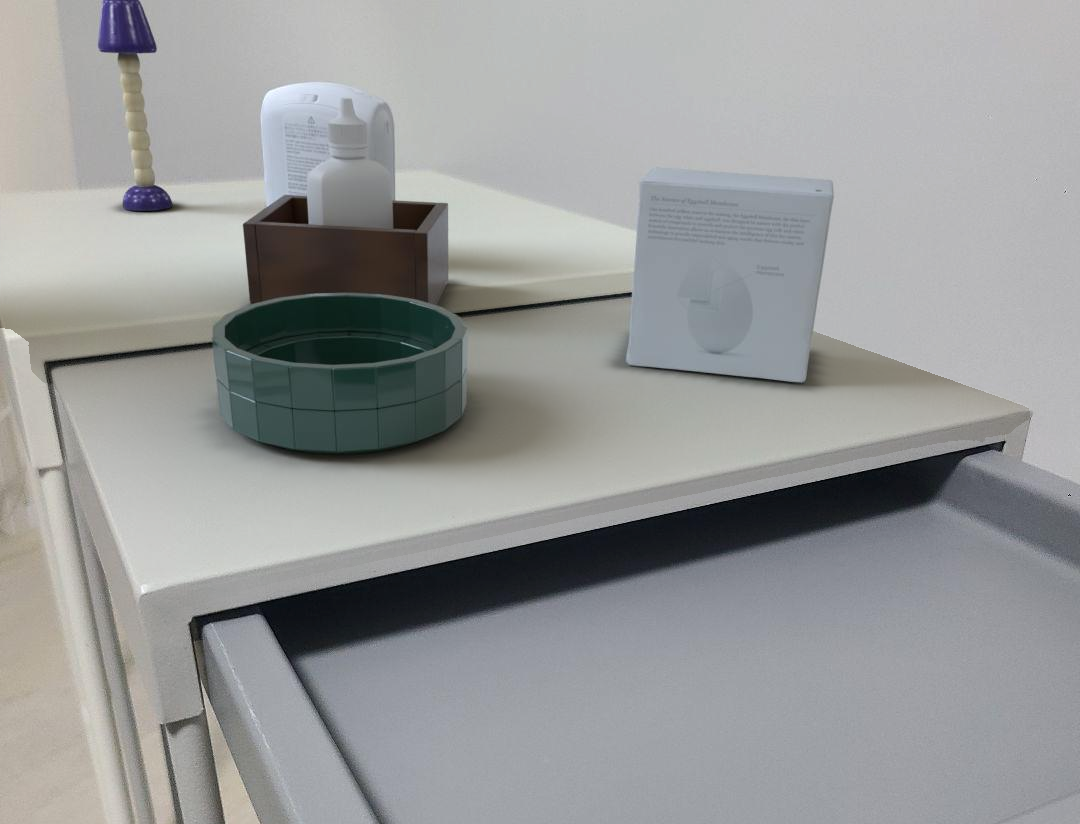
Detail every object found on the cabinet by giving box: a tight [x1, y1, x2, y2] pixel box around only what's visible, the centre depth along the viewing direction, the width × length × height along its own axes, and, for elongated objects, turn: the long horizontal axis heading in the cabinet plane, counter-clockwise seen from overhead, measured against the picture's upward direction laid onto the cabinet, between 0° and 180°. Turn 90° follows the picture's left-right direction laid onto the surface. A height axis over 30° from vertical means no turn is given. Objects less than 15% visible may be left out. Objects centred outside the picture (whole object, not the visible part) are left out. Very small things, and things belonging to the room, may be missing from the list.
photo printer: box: [260, 81, 396, 207], centre depth 80 cm, size 10×4×12 cm, turn 69°
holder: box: [242, 195, 449, 306], centre depth 72 cm, size 12×10×6 cm
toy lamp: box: [97, 0, 173, 212], centre depth 92 cm, size 5×5×17 cm
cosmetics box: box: [625, 167, 835, 383], centre depth 62 cm, size 10×6×10 cm, turn 77°
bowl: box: [211, 293, 468, 455], centre depth 54 cm, size 12×12×4 cm
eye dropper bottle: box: [307, 98, 393, 229], centre depth 70 cm, size 4×6×12 cm
